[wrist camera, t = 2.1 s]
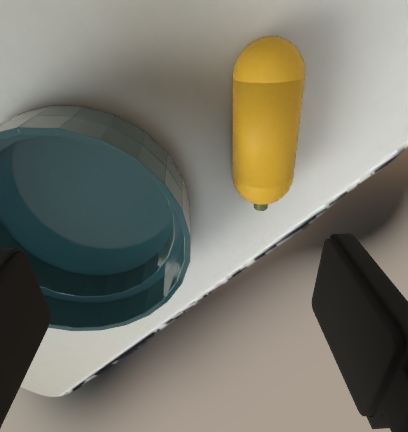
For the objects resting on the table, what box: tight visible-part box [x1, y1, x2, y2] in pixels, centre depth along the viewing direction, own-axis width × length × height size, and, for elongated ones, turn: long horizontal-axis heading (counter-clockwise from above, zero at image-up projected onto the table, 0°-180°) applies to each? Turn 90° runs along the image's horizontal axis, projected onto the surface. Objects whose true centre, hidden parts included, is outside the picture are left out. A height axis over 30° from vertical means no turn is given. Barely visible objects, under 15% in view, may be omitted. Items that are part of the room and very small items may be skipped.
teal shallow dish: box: [0, 106, 191, 331], centre depth 27 cm, size 19×19×6 cm
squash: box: [233, 36, 305, 211], centre depth 24 cm, size 13×5×5 cm, turn 3°
